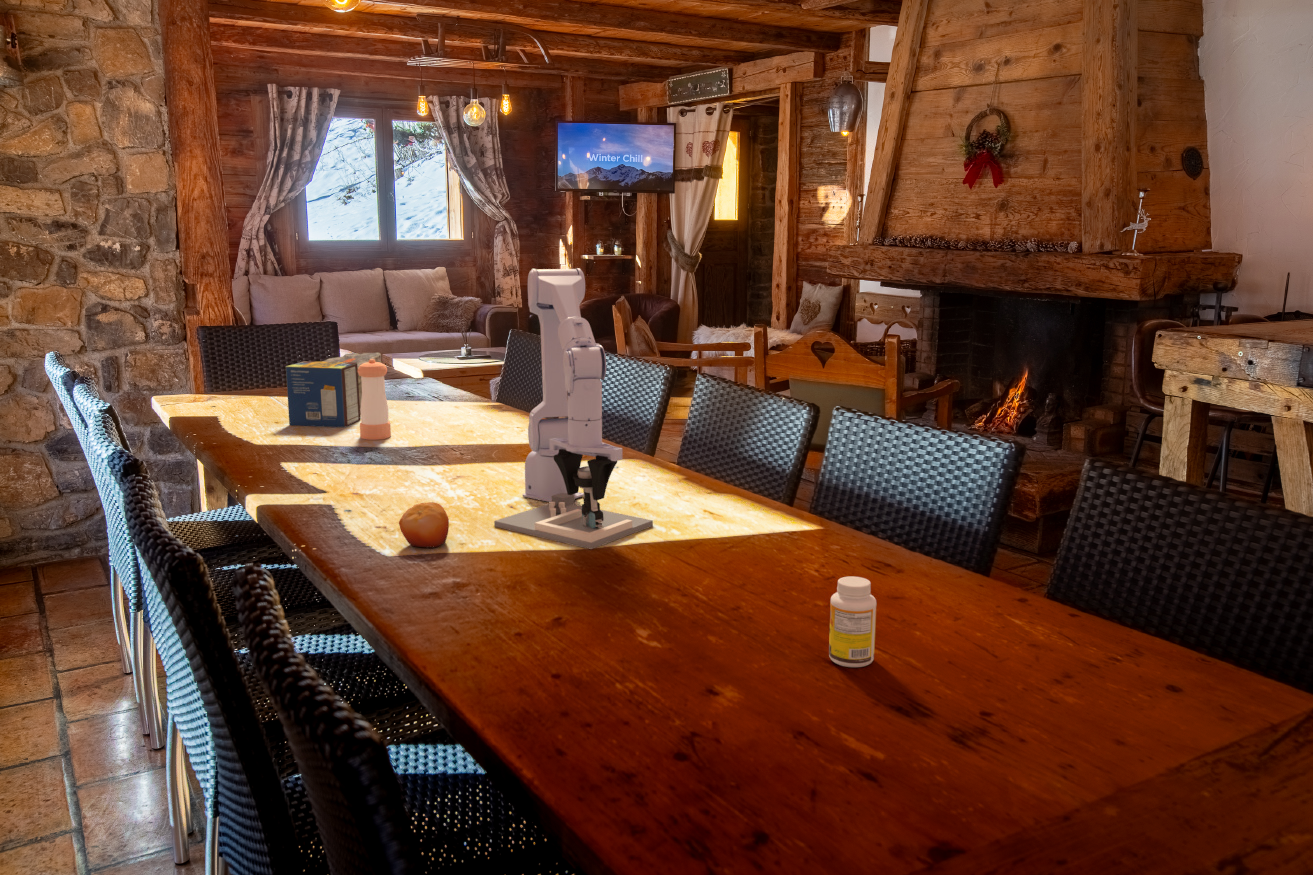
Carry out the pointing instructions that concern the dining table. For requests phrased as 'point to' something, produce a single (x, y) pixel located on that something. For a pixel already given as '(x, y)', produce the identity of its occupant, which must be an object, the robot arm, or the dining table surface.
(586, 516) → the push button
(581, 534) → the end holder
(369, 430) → the salt shaker
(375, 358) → the petrified wood
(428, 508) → the fruit
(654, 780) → the dining table surface
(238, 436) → the dining table surface
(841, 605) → the supplement bottle
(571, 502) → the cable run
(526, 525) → the mat
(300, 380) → the protein box
